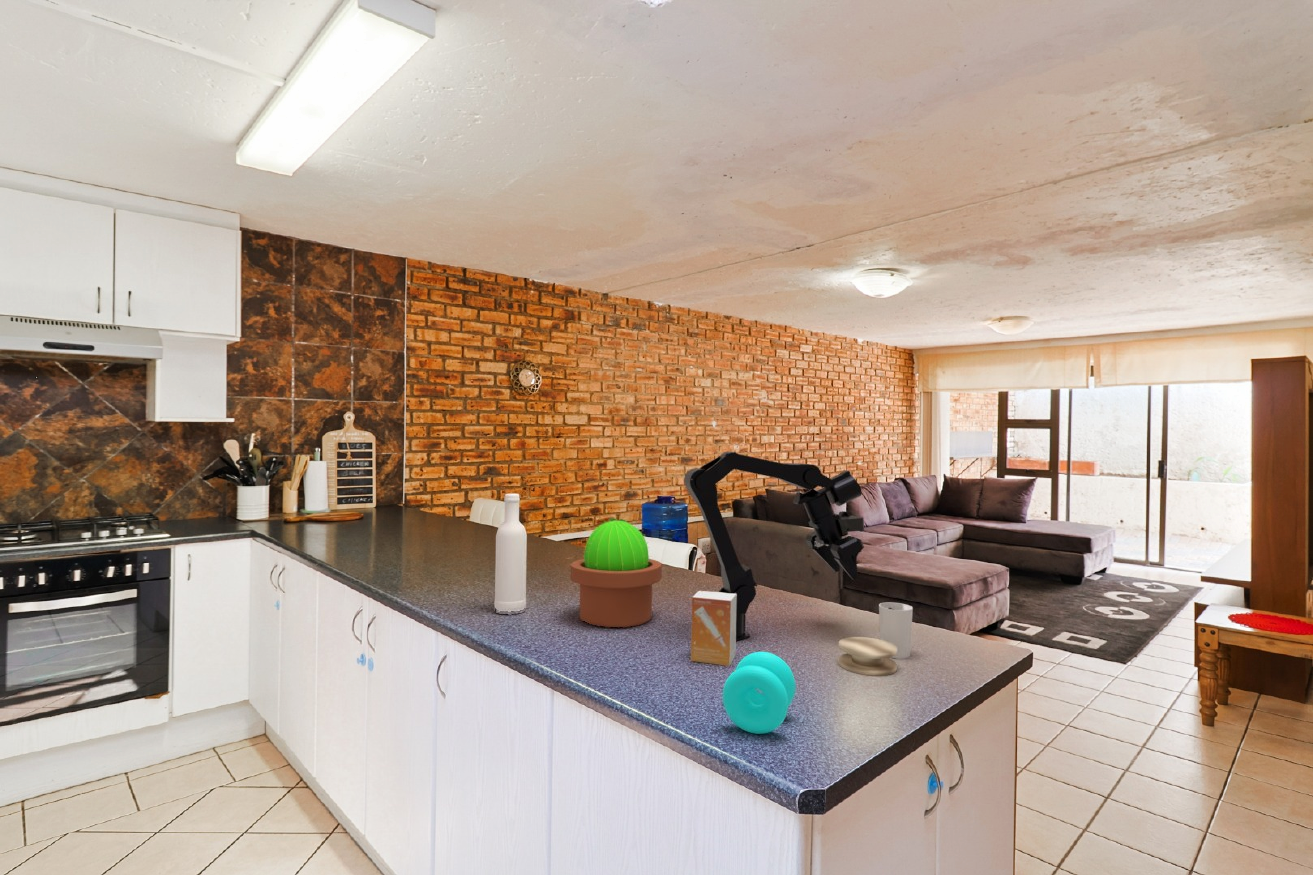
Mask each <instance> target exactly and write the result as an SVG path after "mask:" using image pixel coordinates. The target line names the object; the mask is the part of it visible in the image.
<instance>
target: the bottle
mask: <svg viewBox="0 0 1313 875" xmlns="http://www.w3.org/2000/svg"><path fill="white" fill-rule="evenodd" d="M503 500H504V521H503V522H502V523H501V524H500V525H499V526H498V528H497V532H496V534H495V565H494V566H495V568H494V569H495V570H494V571H495V572H494V574H495V577H494V578H495V579H494V584H495V585H494V609H495V608H496V609H497V610H499V611H508V612H511V611H520V610H523V609H524V608H527V596H526V595H527V546H528V544H527V540H528V539H527V538H528V536H527V534H528V533H527V531H526V527H525V525H523V524H522V523H521V522H520V501H521V499H520V494H519V493H505V494H504V498H503Z"/></svg>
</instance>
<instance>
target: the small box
mask: <svg viewBox="0 0 1313 875" xmlns="http://www.w3.org/2000/svg"><path fill="white" fill-rule="evenodd" d="M691 599H692V600H691V629H690V633H691V634H690V661H691V662H697V663H705V664H712V665H720V666H726V667H730V666H731V664H732V662H733V661H734V659H735V657H736V650H737V648H736V646H737V641H736V601H737V594H733V593H722V592H718V591H707V590H698V591H697V592H696V593H695V594H694V595H693V596H692V597H691Z"/></svg>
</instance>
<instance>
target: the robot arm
mask: <svg viewBox="0 0 1313 875" xmlns="http://www.w3.org/2000/svg"><path fill="white" fill-rule="evenodd" d="M734 470H736V471H741V472H745V473H746V472H747V473H750V474H756V475H760V476H765V477H770V478H775V479H778V480H780V481H782V482H784V483H787V484H788V485H790V486H791V485H792V486H794V487H796V488H800V489H804V490H807V491H805V492H803V493H802V492H798V491H797V492H796V495H795V497H794V499H793V500H792V502H793V504H796V505H803V506H804V509H805V510H806V513H807V515H808V518H809V521H808V524H809V527H812V528H813V530H814V531H812V532H810V533H807V534H806V537H805V542H806V545H807V547H809V548H810V549H811V551H813V552H814V553H815V554H816V555H817V556H819V558H820V559H822V561H823V562H825V563H826V564H827V565H828V566H829V567H830V569H831V570H833V571H834V572H835V573H838V572H840V571H841V570H840V567H841V568H842V569H843V570H844V571H845V572H846V574H847V575H848V576H849V577H850V578H851V580H852V581H856V580H858V579H859V576H858V575H859V573H858V562H857V558H858V556H859V554H861V552H862V551H863V550H864V548H865V545H864V543H863V541H862V539H860V538H858V537H855V536H852V535H849V533H851V532H860V533H862V532H865V525H864V524H865V523H864V517H863V516H858V515H851V514H850V512H849V511H846V510H845V511H838V513H835V511H834V509H833V506H832V505H836V506H838V507H841V506H843V505H844V504H848V503H849V502H852V501H853V500H856V499H857V498H859V497H861V496H862V493H863V492H862V488H861V486H860V483H858V481H857V480H856V478H855V477H854V476H853V475H852V474H851V471H849V470H843V471H841V472H840V473H838V474H837V475H835V476H832V477H828V476H826V475H824V474H823V473H822V471H821V469H820V467H819V466H818V465H815V464H812V463H811V464H810V463H793V462H791V463H790V462H786V463H785V462H778V461H775V460H774V461H773V460H769V459H764V458H760V457H755V456H749V455H744V454H740V453H738V452H735V451H724V452H722V453H721V455H719V456H718V457H715V458H714V459H712V460H711V461H709V462H707V463H705V464H704V465H702V466H701V467H695V468H691V469H688V471H687V472H686V474H685V475H684V478H683V484H684V487H685V488H686V490H687V492H688V494H689V495H690V497H691V498H692V500H693V501H694V503H695V504H696V506H697V507H698V509H699V510H700V513H701V516H702V518H703V520H704V523H705V526H706V528H707V532H708V534H709V537H710V540H711V542H712V545H713V547H714V550H715V554H716V556H717V558H718V561H719V564H720V573H721V574H720V575H721V582H722V587H721V588H720V589H719V590H718V591H717V592H722V593H733V594H737V601H736V642H737V641H740V640H743V639H747V638H750V637H751V633H746V620H747V618H746V614H747V612H748V609H749V606H750V604H751V603H752V602H753V601H754V599H755V597H756V595H757V591H756V587H758V584H757V583H756V581H755V580H754V577H753V572H752V569H751V568H750V567H748V566H746V565H745V564H741V563H740V562H739V561H740V560H739V559H738V556H737V553H736V550H735V547H734V545H733V542H732V539H731V537H730V535H729V531H728V528H727V526H726V523H725V519H724V517H723V516H722V513H721V510H720V507H719V503H718V502H719V500H718V496H719V495H718V489H717V484H718V483H719V482H721V481H722V480H723V479H724V478H725V477H727V475H729V474H730V473H731V472H732V471H734ZM818 487H820V489H818V490H816V488H818Z"/></svg>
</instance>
